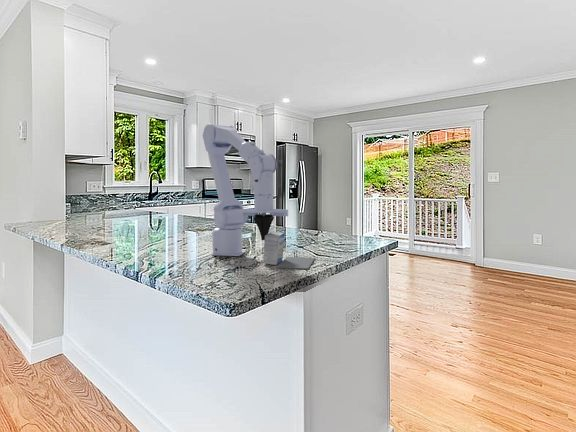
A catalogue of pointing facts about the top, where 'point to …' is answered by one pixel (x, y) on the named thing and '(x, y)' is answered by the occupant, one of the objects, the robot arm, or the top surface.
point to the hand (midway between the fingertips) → (264, 239)
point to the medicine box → (273, 248)
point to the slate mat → (296, 263)
